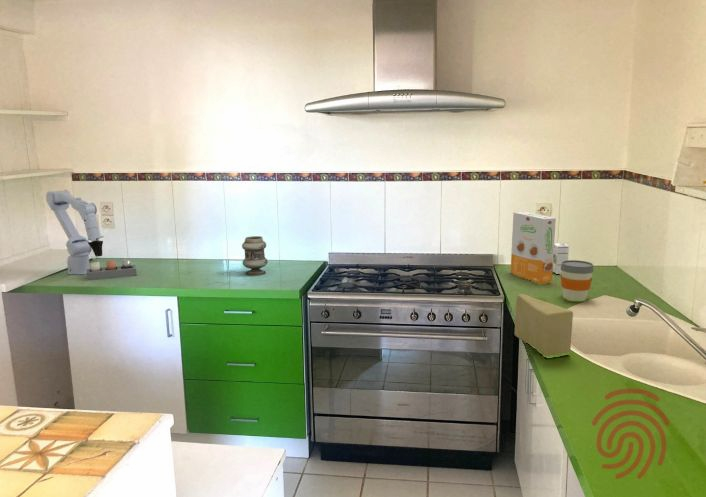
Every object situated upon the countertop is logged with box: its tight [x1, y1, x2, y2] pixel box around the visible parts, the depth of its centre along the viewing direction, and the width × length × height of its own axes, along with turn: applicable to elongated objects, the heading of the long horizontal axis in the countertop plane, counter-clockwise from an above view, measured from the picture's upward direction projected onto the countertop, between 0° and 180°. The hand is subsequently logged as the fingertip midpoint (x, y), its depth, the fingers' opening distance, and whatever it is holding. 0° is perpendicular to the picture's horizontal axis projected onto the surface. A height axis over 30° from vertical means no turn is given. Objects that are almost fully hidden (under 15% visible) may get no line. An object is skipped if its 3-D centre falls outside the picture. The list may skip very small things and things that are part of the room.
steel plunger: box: [121, 259, 132, 269], centre depth 283 cm, size 4×4×4 cm
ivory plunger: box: [89, 261, 101, 272], centre depth 278 cm, size 4×4×4 cm
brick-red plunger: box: [105, 260, 116, 270], centre depth 281 cm, size 4×4×4 cm
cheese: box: [514, 293, 574, 356], centre depth 186 cm, size 22×10×15 cm, turn 19°
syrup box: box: [552, 242, 570, 275], centre depth 278 cm, size 6×6×14 cm
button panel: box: [85, 264, 137, 281], centre depth 281 cm, size 9×22×4 cm, turn 113°
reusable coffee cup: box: [560, 259, 594, 300], centre depth 237 cm, size 13×13×15 cm
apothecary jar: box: [241, 235, 268, 277], centre depth 283 cm, size 12×12×18 cm
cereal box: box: [510, 211, 557, 285], centre depth 268 cm, size 22×6×30 cm, turn 20°
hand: (99, 256), depth 277 cm, fingers open, 7 cm apart
